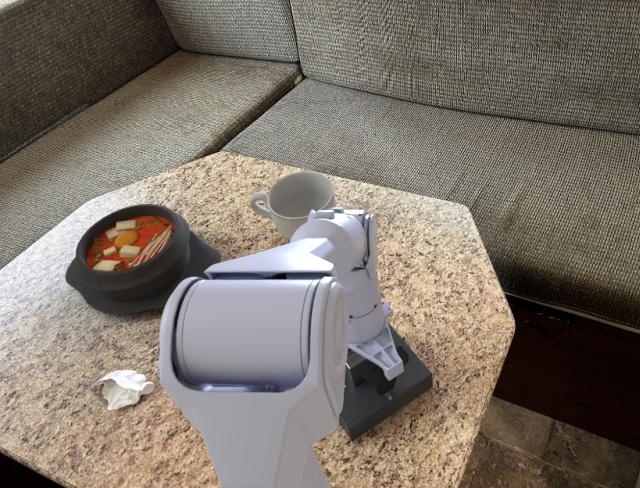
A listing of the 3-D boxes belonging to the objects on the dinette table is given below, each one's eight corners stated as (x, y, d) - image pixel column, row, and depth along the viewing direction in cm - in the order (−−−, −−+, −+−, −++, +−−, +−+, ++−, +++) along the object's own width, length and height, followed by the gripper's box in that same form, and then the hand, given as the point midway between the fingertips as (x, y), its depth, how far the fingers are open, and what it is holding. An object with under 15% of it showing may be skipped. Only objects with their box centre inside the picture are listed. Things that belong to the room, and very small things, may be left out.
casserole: (245, 245, 98) (232, 207, 93) (181, 338, 85) (162, 300, 80) (119, 222, 106) (100, 185, 100) (42, 304, 92) (15, 267, 87)
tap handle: (353, 387, 74) (349, 367, 71) (347, 378, 75) (342, 358, 72) (391, 363, 76) (388, 343, 73) (384, 354, 77) (380, 334, 74)
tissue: (115, 365, 83) (104, 349, 80) (159, 385, 80) (149, 369, 77) (83, 399, 79) (71, 383, 77) (129, 422, 76) (117, 406, 74)
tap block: (352, 441, 72) (348, 428, 70) (312, 381, 78) (308, 368, 76) (433, 386, 76) (432, 372, 74) (389, 334, 83) (387, 320, 81)
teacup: (350, 211, 103) (343, 174, 98) (327, 257, 95) (318, 220, 90) (275, 201, 106) (265, 165, 101) (247, 244, 99) (235, 208, 93)
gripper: (423, 321, 63) (429, 392, 72) (352, 243, 72) (365, 314, 81) (366, 357, 60) (380, 426, 69) (299, 271, 70) (319, 341, 79)
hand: (368, 367), depth 75 cm, fingers open, 7 cm apart
